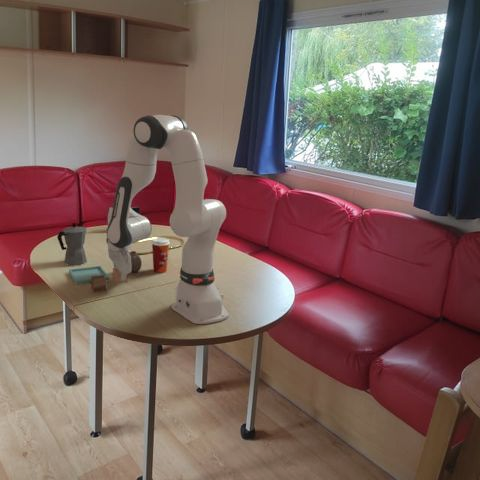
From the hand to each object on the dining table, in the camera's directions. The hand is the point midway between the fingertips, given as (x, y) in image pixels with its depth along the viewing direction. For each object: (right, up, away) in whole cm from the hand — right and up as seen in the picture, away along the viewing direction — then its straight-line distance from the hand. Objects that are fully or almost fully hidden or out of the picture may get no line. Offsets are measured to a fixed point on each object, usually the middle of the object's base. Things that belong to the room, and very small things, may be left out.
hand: (119, 276), depth 195 cm
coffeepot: (-24, +4, +16) cm, 29 cm away
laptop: (-11, +17, +61) cm, 64 cm away
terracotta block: (0, -2, +1) cm, 2 cm away
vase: (+3, +1, +11) cm, 12 cm away
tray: (-13, 0, +2) cm, 14 cm away
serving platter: (+5, +11, +45) cm, 47 cm away
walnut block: (-6, -5, -9) cm, 12 cm away
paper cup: (+14, +1, +14) cm, 20 cm away
